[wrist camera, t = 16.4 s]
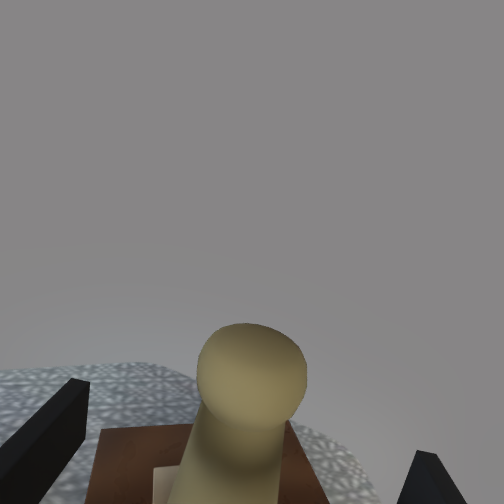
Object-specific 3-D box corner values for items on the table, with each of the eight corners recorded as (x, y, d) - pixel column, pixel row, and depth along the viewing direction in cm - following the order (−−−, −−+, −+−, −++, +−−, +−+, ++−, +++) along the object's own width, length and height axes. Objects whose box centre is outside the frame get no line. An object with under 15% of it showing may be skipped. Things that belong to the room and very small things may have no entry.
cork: (294, 518, 17) (344, 346, 15) (224, 633, 13) (280, 405, 10) (217, 451, 21) (247, 300, 18) (137, 520, 16) (164, 328, 13)
